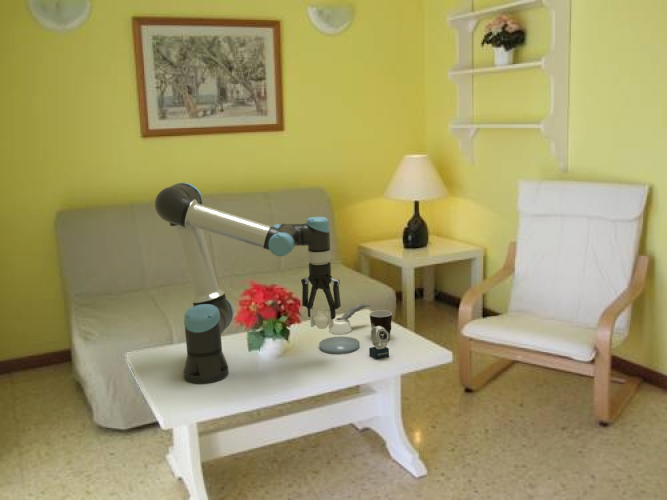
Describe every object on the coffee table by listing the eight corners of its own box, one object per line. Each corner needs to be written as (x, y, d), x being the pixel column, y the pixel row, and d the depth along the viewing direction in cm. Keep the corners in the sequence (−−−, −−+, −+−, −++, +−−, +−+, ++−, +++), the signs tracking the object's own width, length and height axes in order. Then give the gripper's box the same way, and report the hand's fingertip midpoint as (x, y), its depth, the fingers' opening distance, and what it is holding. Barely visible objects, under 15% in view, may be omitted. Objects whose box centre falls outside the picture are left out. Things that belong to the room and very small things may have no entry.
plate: (329, 356, 250) (329, 353, 249) (313, 344, 263) (313, 340, 263) (366, 349, 256) (366, 345, 255) (349, 337, 269) (348, 334, 269)
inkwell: (325, 329, 280) (324, 305, 278) (365, 322, 287) (365, 299, 285) (334, 336, 272) (333, 311, 270) (375, 328, 279) (375, 304, 277)
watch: (378, 361, 244) (378, 331, 241) (366, 354, 251) (366, 325, 248) (392, 358, 246) (391, 328, 244) (380, 351, 253) (379, 322, 251)
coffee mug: (369, 335, 271) (369, 310, 269) (392, 334, 271) (391, 310, 269) (370, 345, 260) (369, 319, 258) (393, 344, 260) (393, 319, 257)
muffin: (333, 328, 241) (332, 309, 240) (316, 331, 239) (315, 311, 238) (328, 323, 247) (327, 304, 245) (311, 326, 245) (310, 306, 244)
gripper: (349, 261, 238) (351, 325, 243) (298, 258, 245) (301, 321, 250) (341, 266, 231) (344, 332, 236) (289, 263, 238) (292, 327, 243)
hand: (322, 326), depth 243 cm, fingers closed on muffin, 6 cm apart
